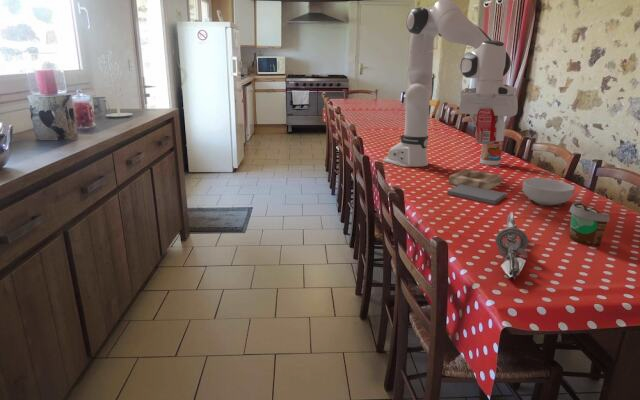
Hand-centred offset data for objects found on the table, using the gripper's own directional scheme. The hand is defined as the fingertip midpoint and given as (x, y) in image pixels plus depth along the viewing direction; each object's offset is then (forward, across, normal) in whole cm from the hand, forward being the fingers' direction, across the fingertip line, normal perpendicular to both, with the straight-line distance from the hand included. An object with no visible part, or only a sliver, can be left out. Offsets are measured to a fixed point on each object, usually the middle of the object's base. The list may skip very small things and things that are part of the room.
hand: (485, 127), depth 158 cm
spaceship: (+26, +27, -47) cm, 60 cm away
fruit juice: (+26, -16, +55) cm, 63 cm away
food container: (+27, +38, -23) cm, 52 cm away
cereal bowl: (+27, +22, +8) cm, 36 cm away
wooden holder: (+26, -7, +14) cm, 30 cm away
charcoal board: (+26, 0, -2) cm, 26 cm away
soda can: (+6, 0, 0) cm, 6 cm away
